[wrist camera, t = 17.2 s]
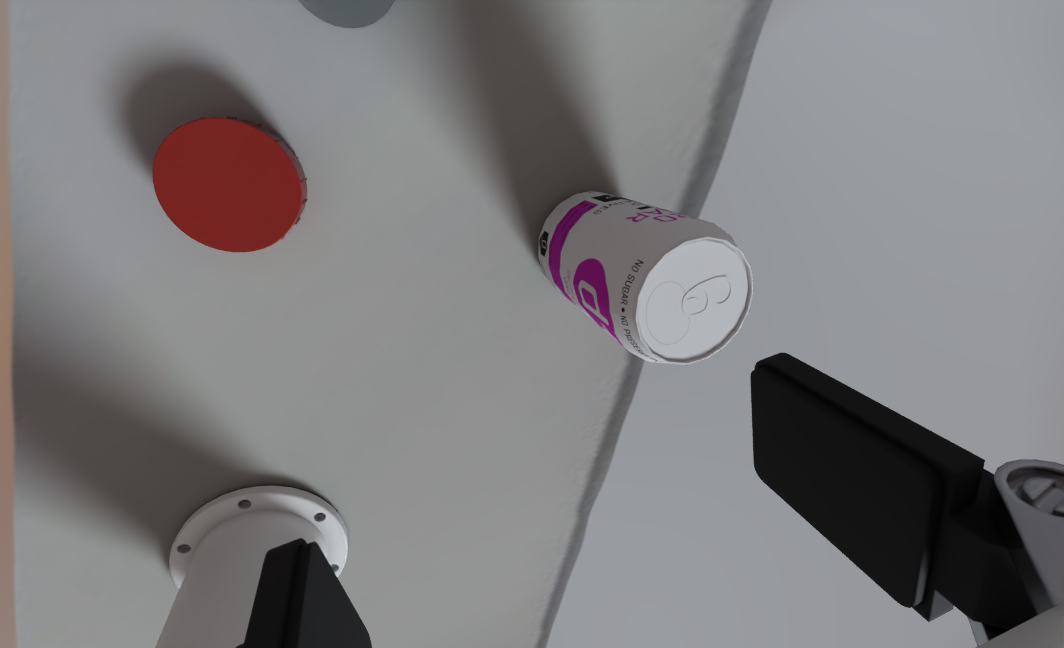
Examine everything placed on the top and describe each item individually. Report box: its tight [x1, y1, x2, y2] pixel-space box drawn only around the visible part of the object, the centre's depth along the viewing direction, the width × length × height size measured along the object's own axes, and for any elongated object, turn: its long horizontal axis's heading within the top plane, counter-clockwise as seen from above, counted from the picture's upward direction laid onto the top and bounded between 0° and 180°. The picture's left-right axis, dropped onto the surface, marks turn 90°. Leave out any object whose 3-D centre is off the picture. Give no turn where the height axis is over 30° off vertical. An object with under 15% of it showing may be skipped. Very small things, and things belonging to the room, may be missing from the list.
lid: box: [153, 117, 307, 252], centre depth 30 cm, size 8×8×3 cm
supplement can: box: [538, 191, 754, 365], centre depth 32 cm, size 8×8×15 cm
